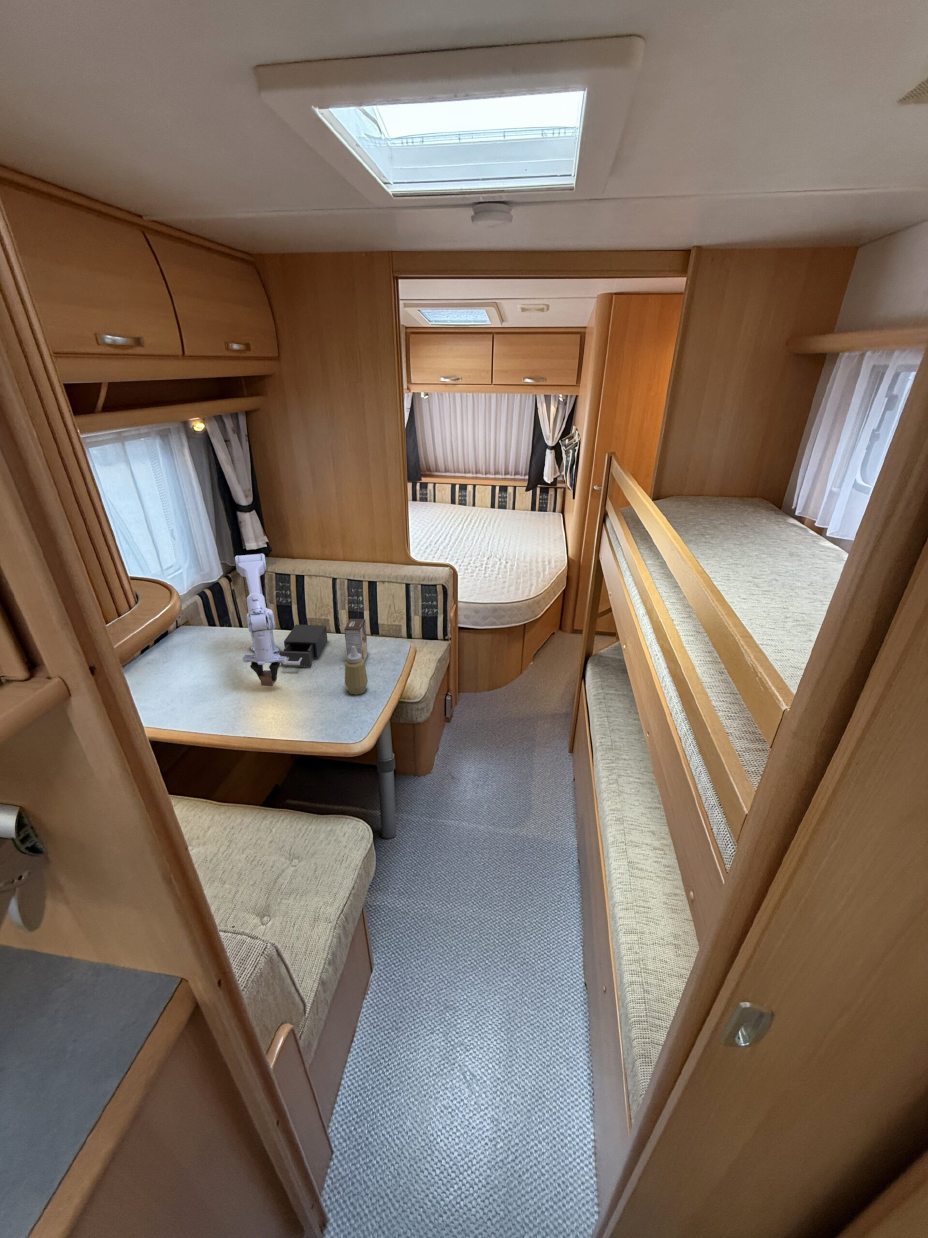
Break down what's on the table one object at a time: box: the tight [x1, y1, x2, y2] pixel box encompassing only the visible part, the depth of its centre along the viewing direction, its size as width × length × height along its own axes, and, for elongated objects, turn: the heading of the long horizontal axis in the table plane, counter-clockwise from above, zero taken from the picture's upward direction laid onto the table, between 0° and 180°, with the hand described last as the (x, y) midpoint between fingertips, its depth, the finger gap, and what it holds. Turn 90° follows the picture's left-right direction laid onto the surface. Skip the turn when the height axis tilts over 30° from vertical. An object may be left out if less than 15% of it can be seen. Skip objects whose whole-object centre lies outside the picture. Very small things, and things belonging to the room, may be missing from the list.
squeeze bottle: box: [344, 646, 369, 696], centre depth 173 cm, size 8×8×18 cm
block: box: [259, 669, 278, 687], centre depth 174 cm, size 4×4×4 cm
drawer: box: [278, 643, 315, 668], centre depth 191 cm, size 18×11×6 cm, turn 179°
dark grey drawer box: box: [283, 624, 329, 660], centre depth 200 cm, size 15×13×8 cm
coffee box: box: [344, 618, 369, 663], centre depth 192 cm, size 9×6×16 cm
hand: (268, 679), depth 174 cm, fingers closed on block, 4 cm apart
